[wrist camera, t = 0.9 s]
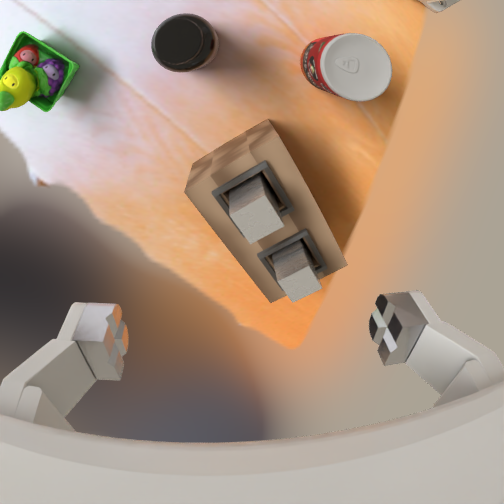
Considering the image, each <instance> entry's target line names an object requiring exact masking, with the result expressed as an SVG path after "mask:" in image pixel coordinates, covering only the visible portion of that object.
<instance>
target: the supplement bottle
mask: <svg viewBox="0 0 504 504" xmlns="http://www.w3.org/2000/svg"><path fill="white" fill-rule="evenodd" d="M218 47H219V40H218V36H217V34H216V32H215V30H214V29H213V27H212V26H211V25H210V23H209V22H208V21H206V20H205V19H204V18H202V17H200V16H197V15H194V14H178V15H174V16H172V17H170V18H168V19H166V20H165V21H163V22H162V23H161V24H160V25H159V26H158V28H157V29H156V31H155V32H154V35H153V37H152V42H151V48H152V53H153V56H154V58H155V59H156V61H157V62H158V63H159V64H160V65H161V66H162V67H164V68H165V69H167V70H170V71H173V72H189V71H193V70H196V69H199V68H202V67H204V66H206V65H207V64H209V63H210V62H211V61H212V60H213V59H214V57H215V56H216V54H217V51H218Z"/></svg>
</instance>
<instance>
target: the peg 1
mask: <svg viewBox="0 0 504 504" xmlns="http://www.w3.org/2000/svg"><path fill="white" fill-rule="evenodd" d="M229 215H230V217H231V218H232V220H233V221H234V222H235V224H236V225H237V226H238V228H239V229H240V231H241V232H242V233H243V235H244V236H245V238H246V239H247V240H248V242H249V243H250V244H252V243H254V242H256V241H257V240H259V239H261V238H263V237H265V236H267V235H269V234H271V233H272V232H274V231H276V230H278V229H280V228H282V227H284V223H283V220H282V217H281V213H280V210H279V207H278V204H277V201H276V198H275V195H274V192H273V190H272V188H271V186H270V185H269V183H268V182H267V180H266V178H265V177H264V175H263V174H262V172H259V173H257V174H255V175H254V176H252V177H250V178H248V179H247V180H245V181H243V182H241V183H240V184H238V185H236V186H234V187H233V188H231V189H229Z"/></svg>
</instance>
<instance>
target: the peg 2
mask: <svg viewBox="0 0 504 504" xmlns="http://www.w3.org/2000/svg"><path fill="white" fill-rule="evenodd" d="M272 258H273V263H274V268H275V272H276V277H277V282H278V283H279V285H280V286H281V287H282V289H283V290H284V291H285V293H286V294H287V296H288V297H289V298H290V300H291V301H292V303H293V302H295V301H297V300H299V299H301V298H303V297H305V296H308V295H310V294H312V293H314V292H316V291H318V290H320V289H322V286H321V283H320V281H319V278H318V275H317V272H316V270H315V267H314V264H313V262H312V259H311V256H310V254H309V251H308V248H307V246H306V244H305V243H304V241H303V239H302V238H301V239H299V240H297V241H295V242H293V243H291V244H289V245H287V246H285V247H283V248H282V249H280V250H278V251H276V252H274V253H272Z"/></svg>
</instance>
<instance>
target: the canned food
mask: <svg viewBox="0 0 504 504" xmlns="http://www.w3.org/2000/svg"><path fill="white" fill-rule="evenodd" d="M301 69H302V72H303V74H304V76H305V78H306V79H307V80H308V81H309V82H310V83H311V84H312V85H314V86H315V87H317V88H319V89H321V90H324V91H327V92H329V93H332V94H334V95H337V96H339V97H342V98H345V99H348V100H352V101H368V100H372V99H374V98H376V97H378V96H380V95H381V94H382V93H383V92H384V91H385V90H386V89H387V87H388V85H389V83H390V81H391V77H392V65H391V61H390V58H389V55H388V54H387V52H386V50H385V49H384V48H383V47H382V45H380V44H379V43H378V42H377V41H376V40H374V39H372V38H371V37H368V36H365V35H362V34H356V33H347V34H340V35H334V36H329V37H324V38H320V39H316V40H314V41H312V42H311V43H310V44H308V45H307V46H306V48H305V49H304V51H303V53H302V55H301Z"/></svg>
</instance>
